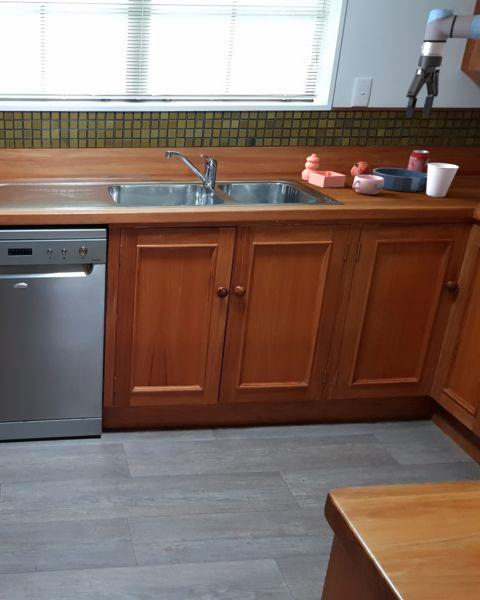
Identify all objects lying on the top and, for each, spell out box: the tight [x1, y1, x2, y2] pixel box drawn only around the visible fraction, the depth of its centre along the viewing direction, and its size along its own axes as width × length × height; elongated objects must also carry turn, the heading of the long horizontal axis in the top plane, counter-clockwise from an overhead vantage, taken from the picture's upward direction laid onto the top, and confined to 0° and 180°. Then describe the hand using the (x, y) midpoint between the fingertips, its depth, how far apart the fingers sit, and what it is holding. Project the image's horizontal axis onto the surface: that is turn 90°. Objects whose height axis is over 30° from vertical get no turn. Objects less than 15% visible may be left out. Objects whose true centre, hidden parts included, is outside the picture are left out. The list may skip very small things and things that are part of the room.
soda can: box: [406, 149, 430, 174], centre depth 242 cm, size 7×7×12 cm
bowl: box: [371, 167, 428, 193], centre depth 233 cm, size 19×19×6 cm
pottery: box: [301, 153, 347, 189], centre depth 237 cm, size 18×10×10 cm, turn 16°
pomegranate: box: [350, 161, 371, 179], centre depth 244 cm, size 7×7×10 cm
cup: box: [425, 162, 460, 198], centre depth 220 cm, size 10×10×11 cm
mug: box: [352, 174, 384, 196], centre depth 221 cm, size 12×10×6 cm
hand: (417, 115), depth 232 cm, fingers open, 13 cm apart
